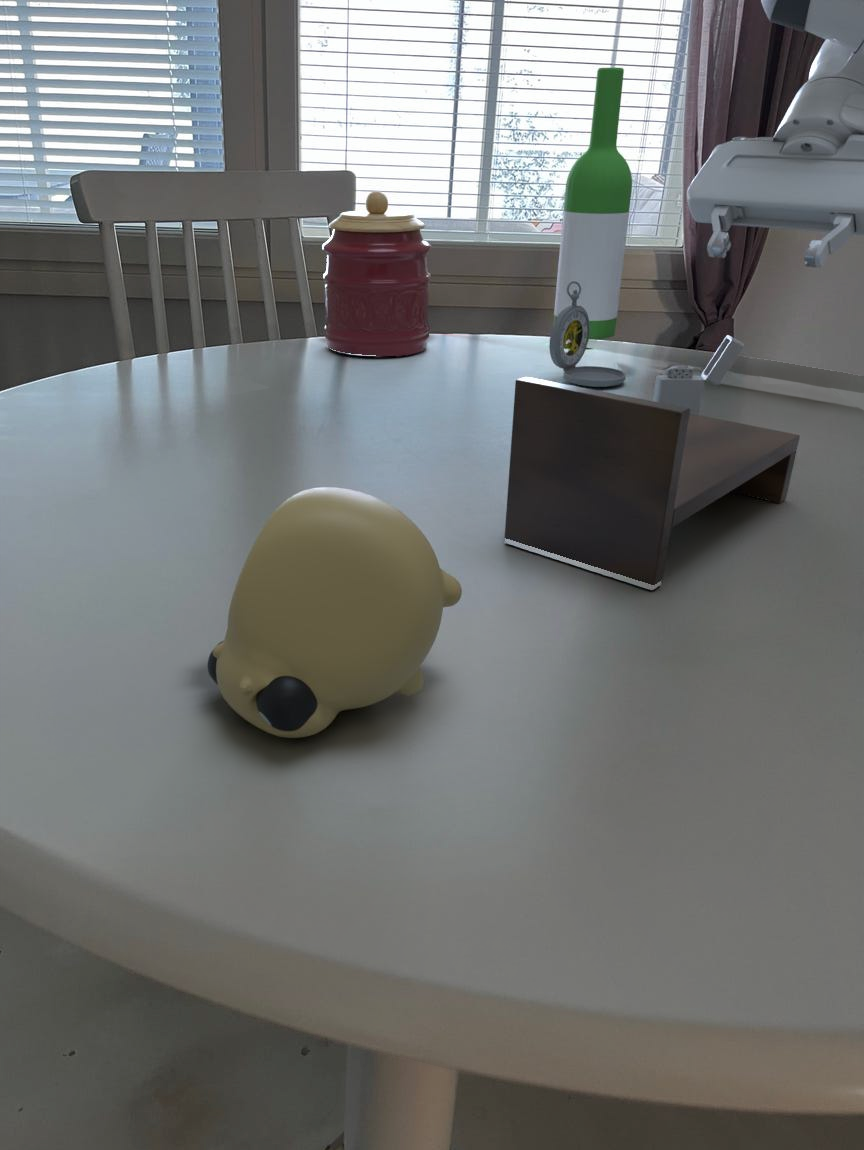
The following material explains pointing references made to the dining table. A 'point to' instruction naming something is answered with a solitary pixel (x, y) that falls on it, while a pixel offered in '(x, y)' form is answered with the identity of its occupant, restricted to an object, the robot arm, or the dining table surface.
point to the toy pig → (330, 612)
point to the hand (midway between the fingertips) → (762, 258)
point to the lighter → (695, 378)
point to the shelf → (626, 473)
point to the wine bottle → (596, 216)
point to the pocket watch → (578, 347)
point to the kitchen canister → (377, 282)
